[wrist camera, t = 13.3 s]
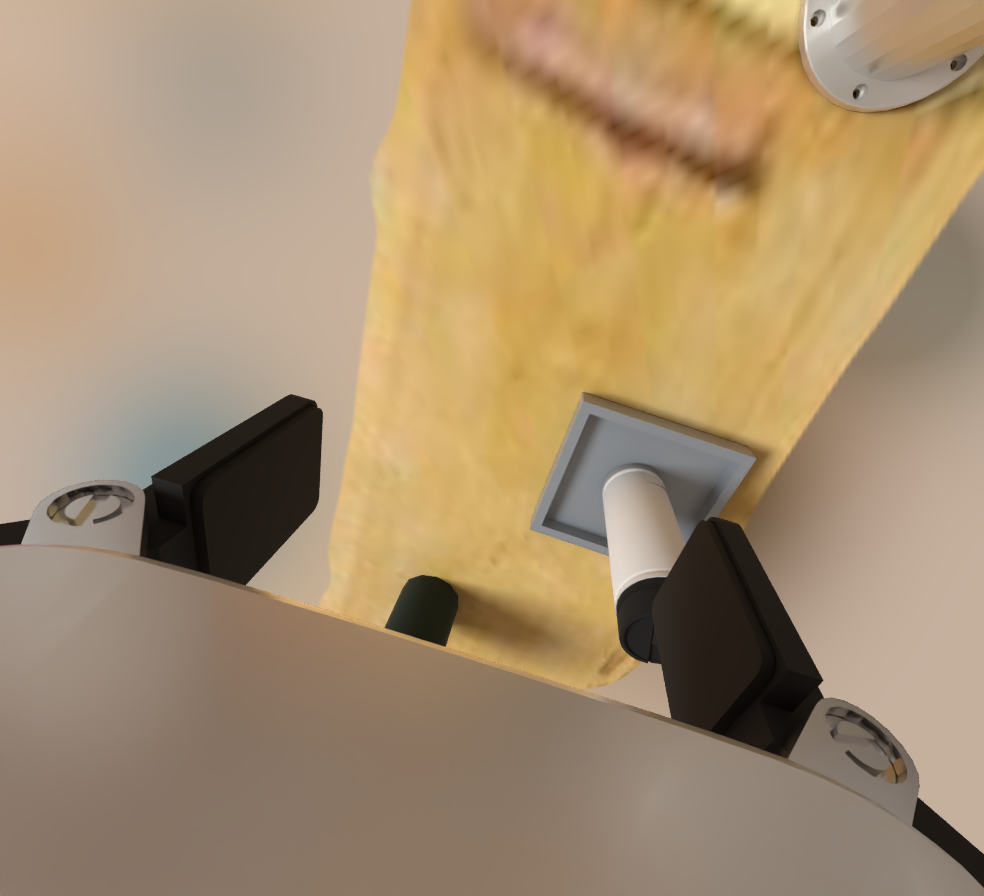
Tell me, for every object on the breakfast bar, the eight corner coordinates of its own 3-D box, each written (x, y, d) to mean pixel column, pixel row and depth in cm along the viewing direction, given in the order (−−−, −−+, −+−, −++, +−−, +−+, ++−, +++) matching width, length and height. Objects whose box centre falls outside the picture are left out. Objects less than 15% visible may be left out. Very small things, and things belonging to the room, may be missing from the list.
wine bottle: (394, 618, 63) (264, 905, 36) (408, 567, 58) (269, 854, 31) (447, 636, 62) (355, 937, 36) (465, 586, 58) (374, 891, 31)
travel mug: (667, 460, 45) (729, 613, 27) (660, 514, 47) (712, 685, 30) (603, 458, 46) (623, 605, 28) (600, 512, 48) (616, 675, 31)
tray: (582, 392, 44) (583, 401, 41) (747, 446, 43) (756, 458, 41) (531, 516, 51) (530, 529, 49) (671, 563, 51) (676, 578, 49)
